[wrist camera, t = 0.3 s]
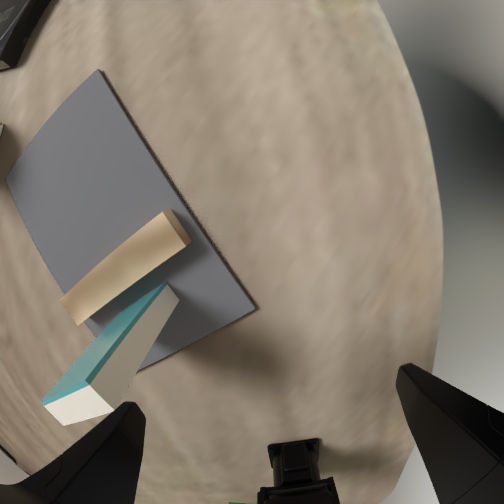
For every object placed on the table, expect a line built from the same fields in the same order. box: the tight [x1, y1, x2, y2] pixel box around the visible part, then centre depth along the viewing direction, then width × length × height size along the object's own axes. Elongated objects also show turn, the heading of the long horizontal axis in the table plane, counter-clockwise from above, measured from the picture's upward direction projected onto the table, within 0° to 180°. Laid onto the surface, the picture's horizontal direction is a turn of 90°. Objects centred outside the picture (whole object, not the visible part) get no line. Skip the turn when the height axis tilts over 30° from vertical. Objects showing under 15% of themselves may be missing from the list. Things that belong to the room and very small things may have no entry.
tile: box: [41, 281, 179, 426], centre depth 16 cm, size 2×6×13 cm, turn 123°
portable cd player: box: [0, 0, 51, 70], centre depth 12 cm, size 16×17×4 cm
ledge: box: [60, 209, 192, 325], centre depth 21 cm, size 3×14×2 cm, turn 123°
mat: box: [6, 69, 255, 370], centre depth 21 cm, size 26×16×1 cm, turn 33°
